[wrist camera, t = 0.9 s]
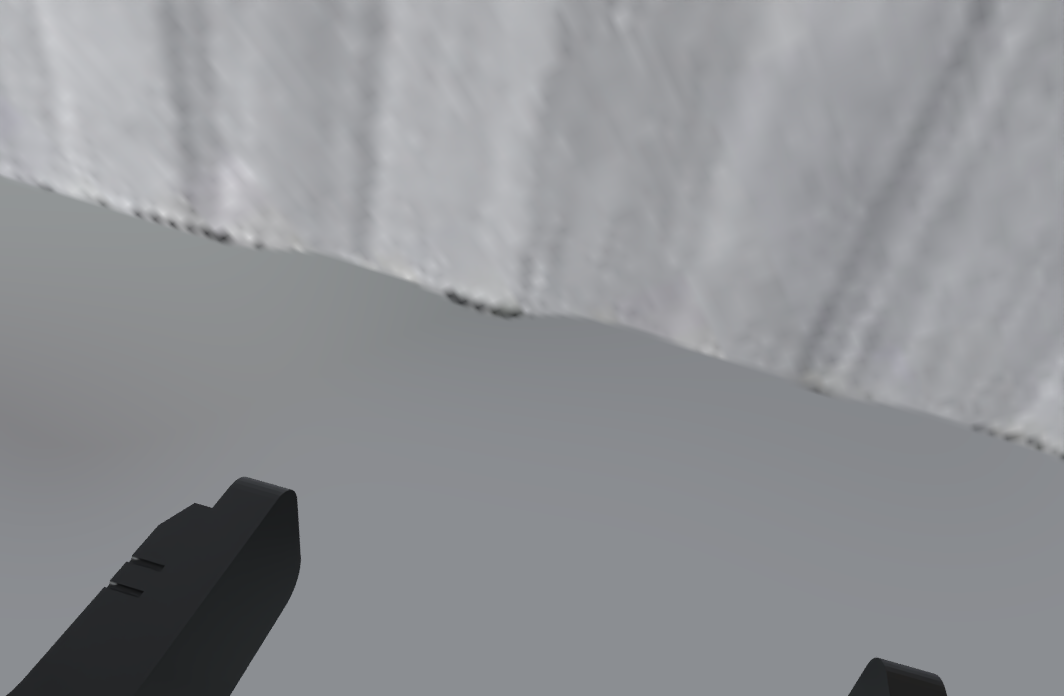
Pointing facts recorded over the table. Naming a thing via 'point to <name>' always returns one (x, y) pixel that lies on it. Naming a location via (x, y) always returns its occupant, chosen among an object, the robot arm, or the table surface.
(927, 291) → the table surface
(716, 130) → the table surface
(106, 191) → the table surface
